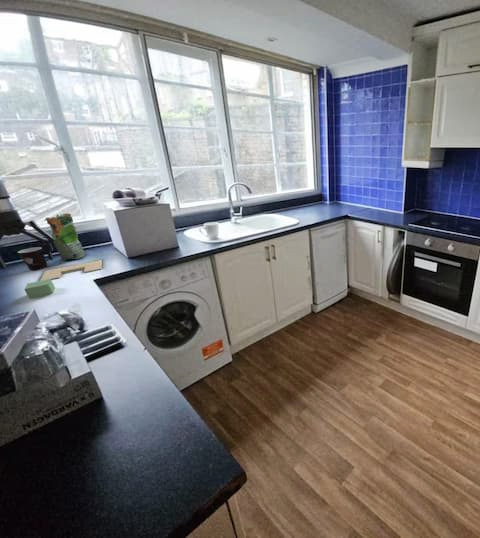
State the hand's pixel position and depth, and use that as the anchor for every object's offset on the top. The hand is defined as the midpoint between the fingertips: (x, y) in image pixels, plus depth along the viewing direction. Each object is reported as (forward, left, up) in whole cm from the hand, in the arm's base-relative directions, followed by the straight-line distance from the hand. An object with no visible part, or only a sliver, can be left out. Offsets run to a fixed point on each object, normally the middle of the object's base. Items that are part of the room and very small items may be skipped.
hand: (28, 263), depth 118 cm
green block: (0, +1, -15) cm, 15 cm away
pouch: (+7, +54, -15) cm, 56 cm away
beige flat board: (+8, +27, -15) cm, 31 cm away
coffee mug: (-7, +46, -15) cm, 48 cm away
